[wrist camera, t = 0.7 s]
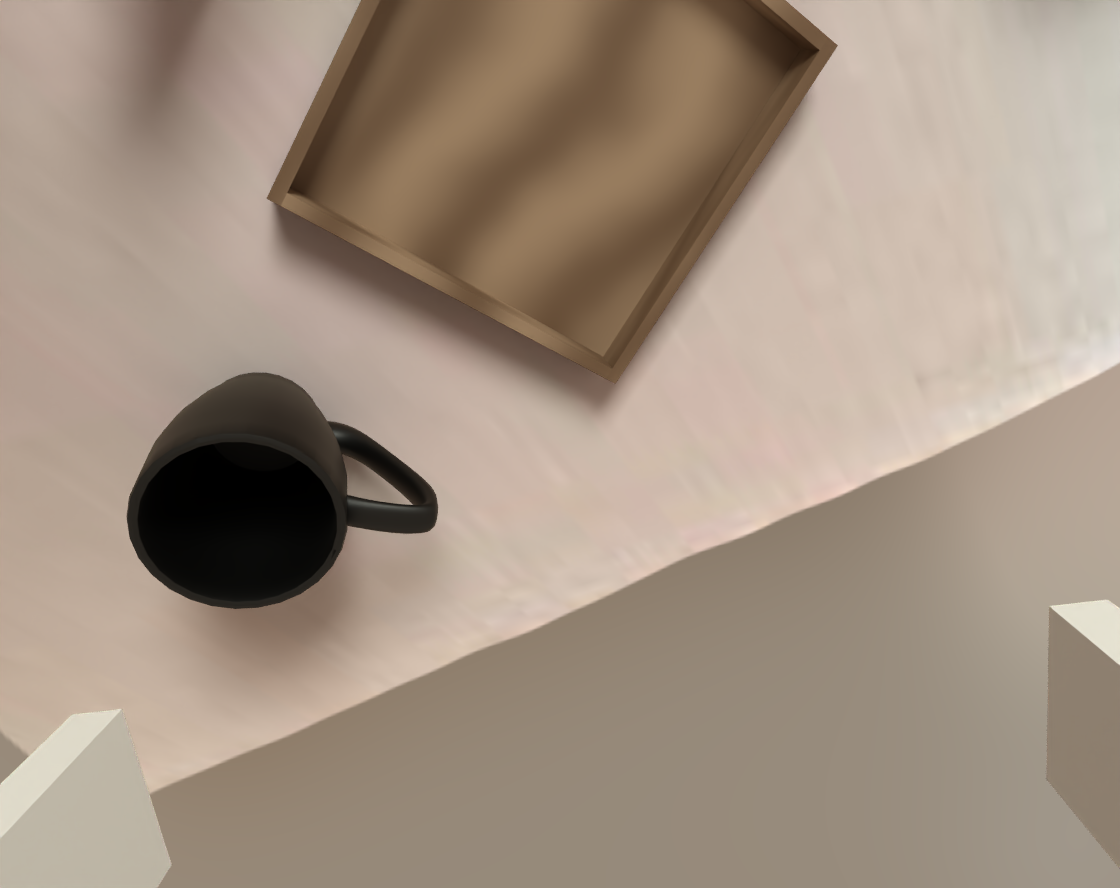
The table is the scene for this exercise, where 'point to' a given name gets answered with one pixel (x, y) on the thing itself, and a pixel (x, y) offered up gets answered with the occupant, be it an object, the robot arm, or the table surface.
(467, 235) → the walnut tray
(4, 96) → the table surface
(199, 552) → the mug
